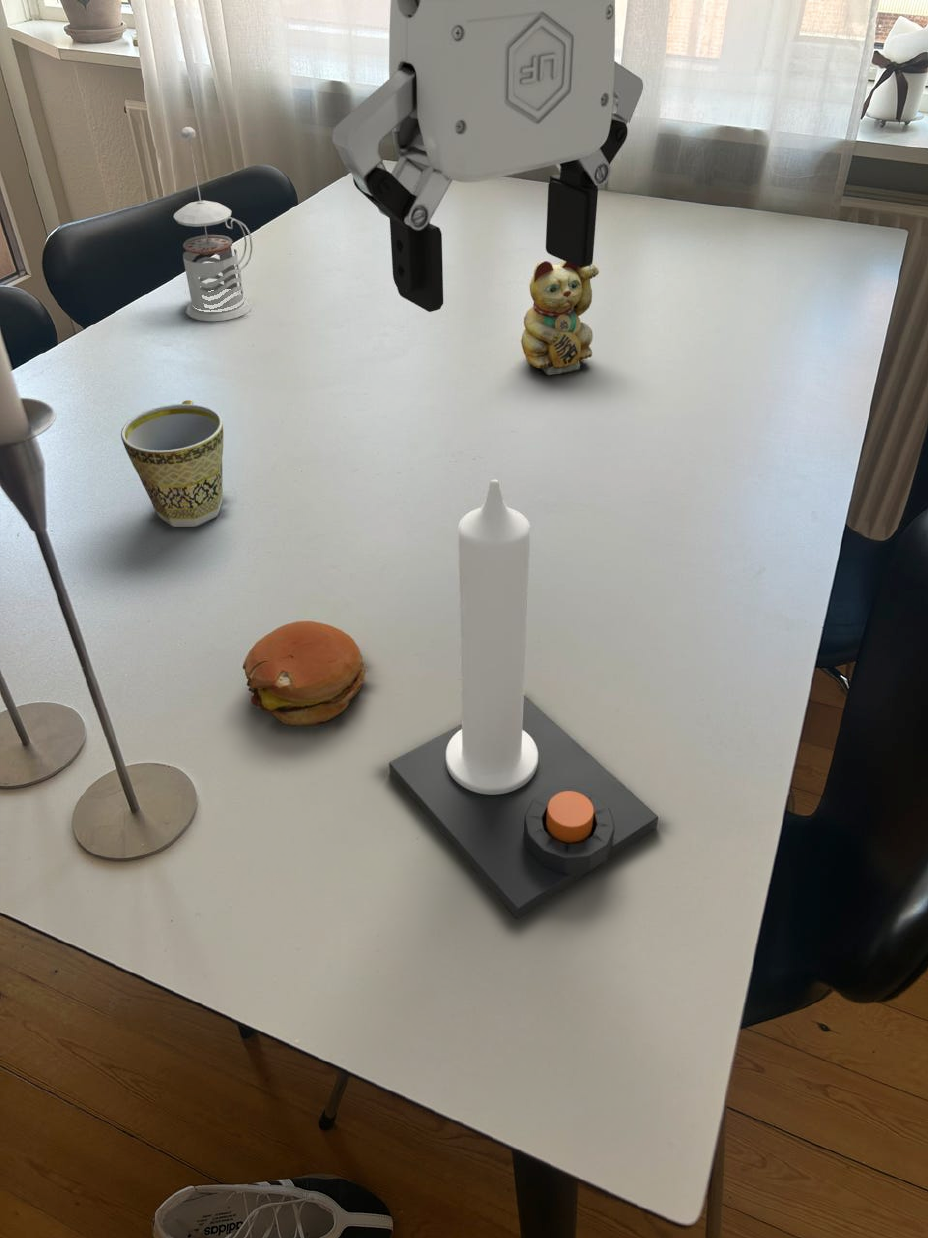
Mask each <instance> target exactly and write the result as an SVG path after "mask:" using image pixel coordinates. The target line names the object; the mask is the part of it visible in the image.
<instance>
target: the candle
mask: <svg viewBox="0 0 928 1238" xmlns="http://www.w3.org/2000/svg"><path fill="white" fill-rule="evenodd" d="M457 531H458V532H457V537H458V539H457V541H458V542H457V548H458V591H459V592H458V594H459V596H458V597H459V641H460V643H459V644H460V648H459V650H460V653H459V654H460V698H461V700H460V703H461V705H460V706H461V724H462V729H461V730H459V731H458V732H457V733H456V734H455V735H454V736H453V737H452V738H451V740H450V741H449V743H448V746H447V749H446V765H447V768H448V771H449V773H450V775H451V776H452V777H453V779H454V780H455V781H456V782H457V783H459V784H460V785H461V786H463V787H464V788H466V789H468V790H471V791H473V792H476V793H480V794H487V795H497V794H505V793H509V792H512V791H514V790H516V789H518V788H520V787H522V786H523V785H525V784H526V783H527V782H528V781H529V780H530V779H531V778H532V777H533V775H534V773H535V771H536V769H537V765H538V750H537V747H536V744H535V742H534V741H533V739H532V738H531V737H530V736H529V735H528V734H527V733H526V732H525V731H524V730H522V727H523V702H524V696H525V673H526V649H527V623H528V622H527V621H528V600H529V599H528V597H529V595H528V594H529V572H530V570H529V569H530V549H531V548H530V547H531V546H530V545H531V544H530V543H531V525H530V522H529V520H528V519H527V517H526V516H524V515H523V514H522V512H519V511H518V510H516V509H513V508H511V507H508V506H507V504H506V503H505V501H504V498H503V494H502V489H501V486H500V482H499V480H498V479H496V478H495V479H491V480H490V481H489V485H488V490H487V492H486V496H485V500H484V502H483V504H482V505H481V506H480V507H478V508H475V509H472V510H471V511H468V512H467V513H466V514H464V516H463V517H462V518H461V519H460V521H459V523H458V526H457Z"/></svg>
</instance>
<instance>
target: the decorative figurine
mask: <svg viewBox="0 0 928 1238" xmlns="http://www.w3.org/2000/svg"><path fill="white" fill-rule="evenodd" d="M599 270H600V269H599V268H598V267H597V265H596V264H594V263H593V262H592V264H591V265H590V266H587V267H583V268H580V267H577V266H575V265H573V264H571V263H568V262H566V261H564V260H562V261H561V262H560V264H552V263H551V262H550V261H549V260H547V259H545V260H540V261H539V262H538V263H537V264H536V266H535V268H534V270H533V275H532V277H531V279H530V282H529V294H530V296H531V299H532V301H533V304H532V306H531V307H530V308H529V309H528V310H527V311H526V313H525V315H524V317H523V326H524V328H525V329H524V330H523V332H522V335H521V340H520V343H521V347H522V351H523V353H524V357H525V359H526V361H527V362H528V363H529V364H531V365H532V366H533V367H534V368H536V369H541V371H543V372H544V373H545V374H546V375H547V376H551V375H560V374H562V373H568V372H574V371H577V370H580V368H581V362H578V361H583V360H586V359H588V358H592V357H593V350H592V348H591V347H590V346H591V344H592V342H593V338H594V335H593V334H594V333H593V329H592V328H591V326H590V325H589V324H588V323H585V322H582V321H581V319H580V316H582V315H583V314H584V313H585V312H587V310H588V309H589V308H590V307H591V305H592V299H593V290H592V283H591V280H592V279H593V278H595V277H597V276H598V275H599V273H600V271H599Z"/></svg>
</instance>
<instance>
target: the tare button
mask: <svg viewBox="0 0 928 1238" xmlns="http://www.w3.org/2000/svg"><path fill="white" fill-rule="evenodd" d="M593 816H594V808H593V805H592V803H591V801H590V800H589V799H588V798H587V797H586V796H584V795H582V794H580V793H578V792H573V791H565V792H560V793H558V794H556V795H555V796H553V797H552V798H551V799H550V801H549V803H548V806H547V820H546V825H547V829H548V831H549V832H550V834H551V835H552V836H553V837H554V838H556V839H558V840H560V841H562V842H566V843H576V842H579V841H582V840H584V839H585V838H586V837H587V836H588V835H589V834H590V832H591V830H592V824H593Z"/></svg>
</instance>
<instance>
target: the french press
mask: <svg viewBox="0 0 928 1238" xmlns="http://www.w3.org/2000/svg"><path fill="white" fill-rule="evenodd" d="M180 135H181V138H183V139H188V142H189V143H188V144H189V147H190V152H191V159H192V165H193V170H194V175H195V176H194V177H195V182H196V186H197V193H198V199H199V200H197V201H193V202H190V203H187V204H186V205H184V206H183V207H181V208H180V209H178V210H177V211H176V212H174V214H173V219H174V221H176V222H177V224H179V225H182V226H186V227H196V228H197V227H204V232H205V235H199V236H198V235H196V236H195V237H191V238H187V239H186V240H185V241H184V242H183V243H182V248H183V249H184V250H185V251H184V252H183V254H182V259H183V265H184V270H185V275H186V279H187V281H186V282H187V285H188V292H189V296H190V301H191V302H190V303H189V305H188V306H187V307H186V312H185V313H186V315H187V316H188V317H189V318H192V319H194V320H197V321H202V322H203V321H204V322H225V321H228V320H229V321H230V320H233V319H238V318H239V317H242V316H244V315H247V314H248V313H249V312H250V311H251V310H252V308H253V307H252V306H253V303H252V302H250V301H249V299H247V297H244V302H243V303H242V304H241V305H240V306H238V307H237V308H234V309H232V310H228V311H222V312H204V311H199V310H197V309H201V310H210V311H211V310H218V309H224V308H227V307H231V306H233V305H235V304H237V303H238V302H240V301H241V300H242V299H243V294H244V289H243V281H242V274H241V272H242V270H243V269H245V267H246V266H247V265H248V264H249V263H250V260H251V257H252V254H253V240H252V239H253V238H252V235H251V232H250V230H249V229H248V226H247V225H246V224H245V223H244V222H242V221H241V220H238V219H236V218H234V217H231V216H232V210H231V209H230V208H229V207H227V206H226V205H223V204H221V203H219V202H216V201H209V200H202V197H201V192H200V187H199V180H198V175H197V169H196V163H195V157H194V152H193V147H192V140H191V139H193V138H196V137H197V132H196V131H195V129H193V128H192V127H191V126H186V127H183V128H182V130H181V131H180ZM228 220H230V226H229V225H228ZM233 222H235V223H236V224H238V226H239V228H240V230H241V231H242V234H243V239H244V249H243V254H242V256H241V258H240V260H239V257H238V251H237V250H236V249H235V248H233V250H232V246H233V244H234V243H233V242H234V240H233V239H232V238H231V237H229V236H227V235H222V234H219V235H218V234H208V232H207V227H210V226H215V225H216V226H217V225H219V224H222V223H225V227H226V228H227V229H230V230H233V229H234V228H233V227H234V226H233ZM243 227H244V228H243ZM244 229H245V230H246V232H247V235H248V237H249V245H250V250H249V257H248V259H247V260H246V262H245V263H244V264H243V265H242V266H241V267H240V264H241V263H242V262H243V259H244V258H245V256H246V252H247V244H248V243H247V235H246V233H245V230H244ZM233 252H234V255H233ZM212 254H215V255H217V256H219V258H216V257H211V256H204V257H201V258H199V259H197V260H196V261H194V260H195V259H196V258H197V257H198V256H200V255H212ZM219 274H222V275H219ZM236 274H237V275H236ZM209 279H211V280H214V281H209V282H207V283H206V282H204V281H206V280H209ZM222 282H223V283H222ZM238 283H239V285H238ZM225 289H231V290H229V291H228V292H226V293H225V294H224V295H222V296H221V297H220V298H218V299H214V300H211V301H208V300H205V299H203V298H202V295H204V296H207V297H210V296H214V295H217V294H219V293H220V292H222V291H223V290H225ZM211 290H214V291H211ZM208 291H211V292H208ZM237 291H238V292H240V294H239V295H237V296H234V297H233V298H231V299H230V300H229V301H227V302H226V303H224V304H223V305H222V306H220V307H217V308H214V309H209V308H205V307H204V304H207V305H214V304H218V303H220V302H221V301H223V300H224V299H225V298H227V297H228V296H230V295H231V294H233V293H234V292H237ZM241 294H242V295H241ZM203 303H204V304H203ZM192 305H193V306H194V307H195V308H197V309H195V308H194V307H193V306H192Z"/></svg>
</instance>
